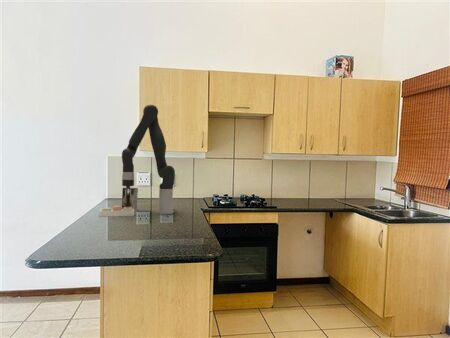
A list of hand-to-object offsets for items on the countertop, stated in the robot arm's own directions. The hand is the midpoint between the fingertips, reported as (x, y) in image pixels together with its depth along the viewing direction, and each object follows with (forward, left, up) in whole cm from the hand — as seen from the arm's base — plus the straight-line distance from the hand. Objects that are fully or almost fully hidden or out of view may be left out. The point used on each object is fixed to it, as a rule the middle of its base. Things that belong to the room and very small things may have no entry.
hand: (128, 204), depth 210 cm
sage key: (+10, -9, -5) cm, 14 cm away
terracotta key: (+5, -4, -4) cm, 8 cm away
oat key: (+1, 0, -5) cm, 5 cm away
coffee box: (-14, -11, -7) cm, 19 cm away
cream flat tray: (+5, -4, -7) cm, 9 cm away
